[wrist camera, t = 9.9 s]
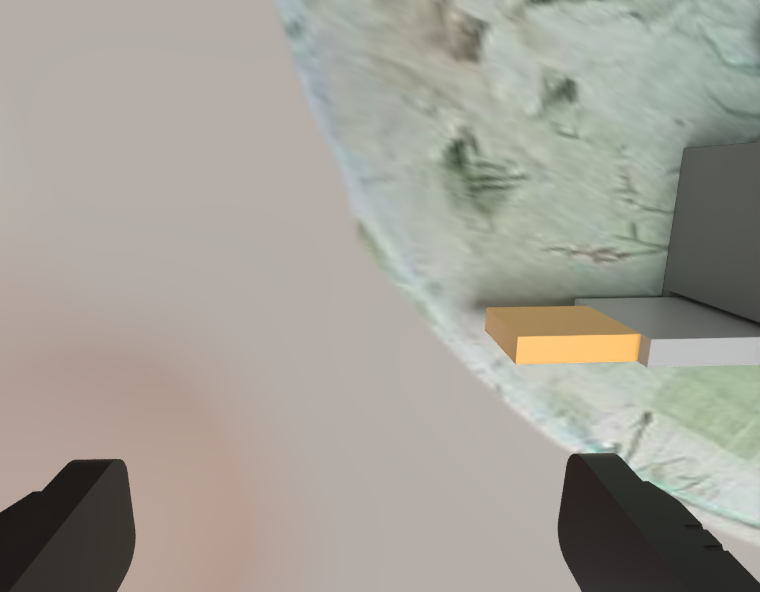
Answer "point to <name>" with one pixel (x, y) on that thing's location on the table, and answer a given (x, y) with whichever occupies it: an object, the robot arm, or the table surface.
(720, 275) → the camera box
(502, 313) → the door
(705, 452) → the table surface
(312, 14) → the table surface
